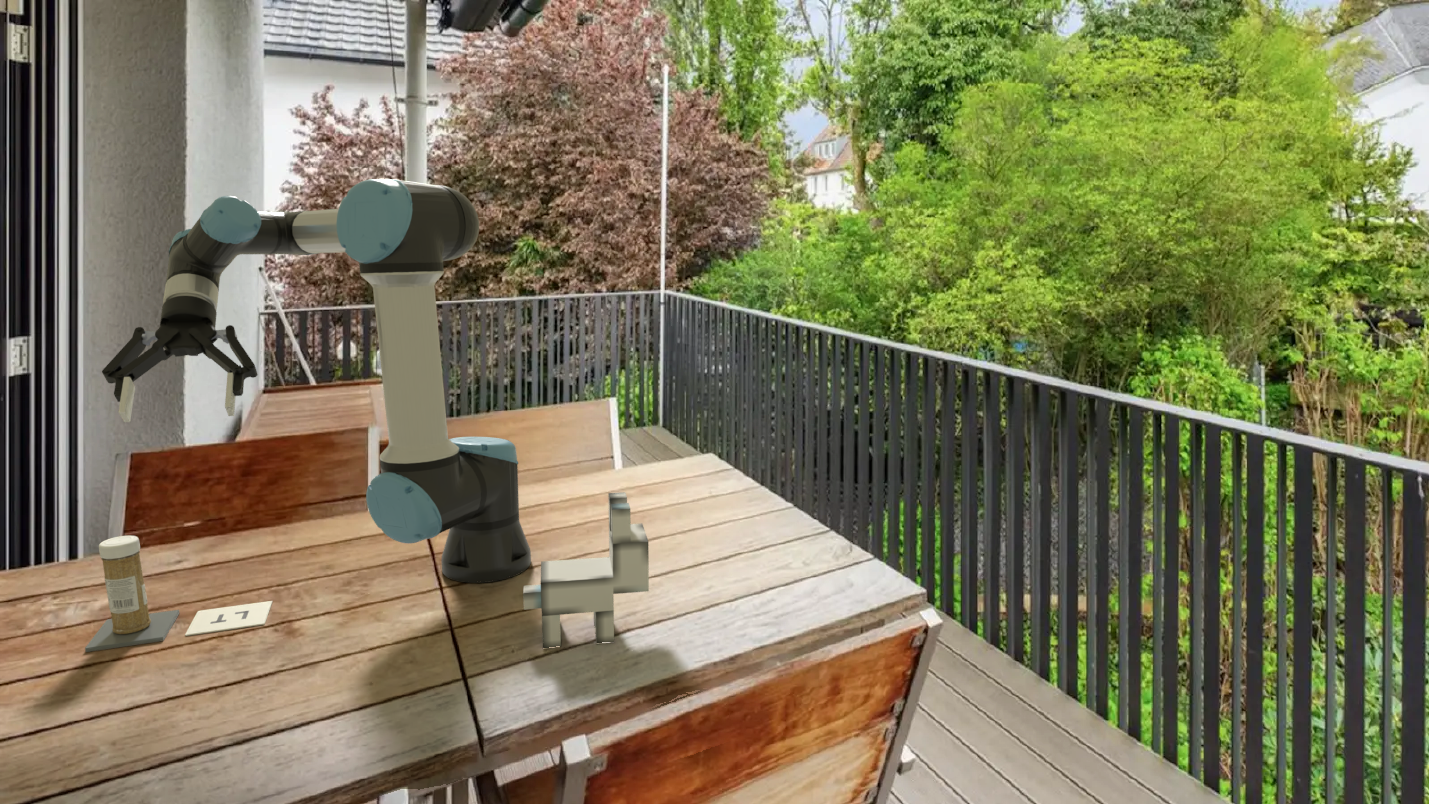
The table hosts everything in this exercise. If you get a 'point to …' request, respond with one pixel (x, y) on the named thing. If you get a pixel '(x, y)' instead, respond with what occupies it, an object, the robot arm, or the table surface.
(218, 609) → the tile
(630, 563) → the toy llama
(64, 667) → the table surface
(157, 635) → the coaster
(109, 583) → the sprinkles bottle
